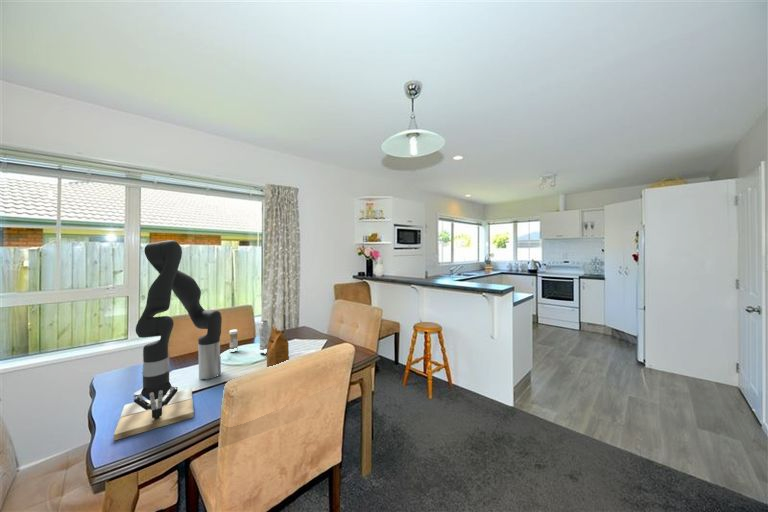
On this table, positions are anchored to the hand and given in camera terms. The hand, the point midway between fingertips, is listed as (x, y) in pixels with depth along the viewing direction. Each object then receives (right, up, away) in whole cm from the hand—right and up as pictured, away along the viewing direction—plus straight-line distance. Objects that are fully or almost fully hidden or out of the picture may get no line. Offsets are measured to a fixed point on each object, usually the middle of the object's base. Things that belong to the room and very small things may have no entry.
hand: (157, 417), depth 102 cm
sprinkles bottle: (-11, -1, +72) cm, 73 cm away
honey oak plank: (-2, -2, +2) cm, 4 cm away
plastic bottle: (+10, -1, +69) cm, 70 cm away
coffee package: (+26, -1, +47) cm, 54 cm away
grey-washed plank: (-9, -2, +12) cm, 14 cm away
